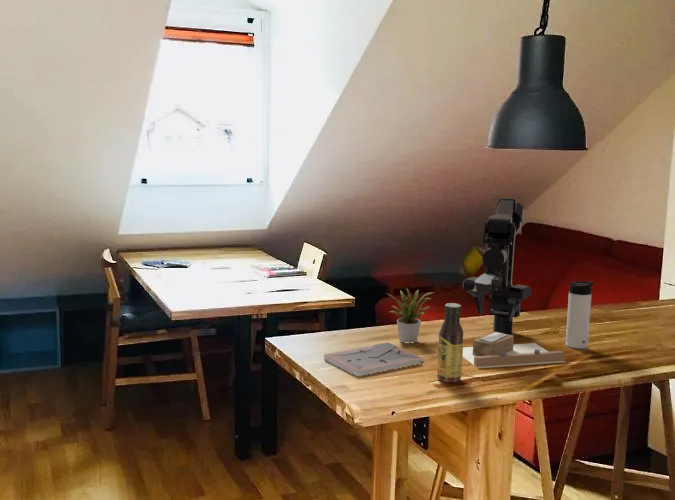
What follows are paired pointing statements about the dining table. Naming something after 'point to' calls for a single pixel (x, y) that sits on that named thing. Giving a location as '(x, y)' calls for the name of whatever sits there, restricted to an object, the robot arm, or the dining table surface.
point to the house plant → (409, 317)
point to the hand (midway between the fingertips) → (495, 317)
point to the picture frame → (372, 359)
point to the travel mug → (578, 314)
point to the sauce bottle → (450, 345)
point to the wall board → (515, 356)
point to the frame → (493, 344)
